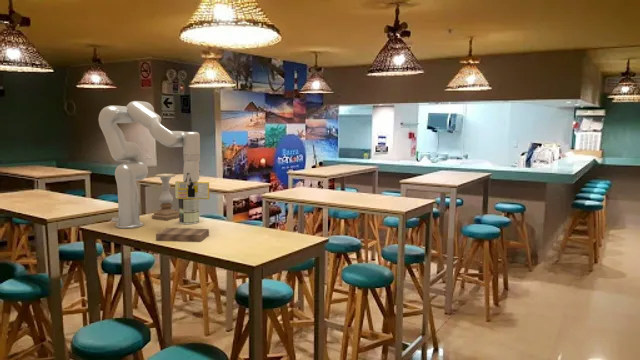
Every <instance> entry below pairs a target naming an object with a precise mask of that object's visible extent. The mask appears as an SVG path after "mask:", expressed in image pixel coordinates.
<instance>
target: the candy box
mask: <svg viewBox="0 0 640 360" xmlns="http://www.w3.org/2000/svg"><path fill="white" fill-rule="evenodd" d="M186 183H187V182H184V181H178V180H177V181H175V182H174V187H175V188H174V189H175V194H174V195H175V196H174V197H175V199H178V200H179V199H199V200H210V182H209V181H198V182H194V189H195V197H188V186H187V184H186Z"/></svg>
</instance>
